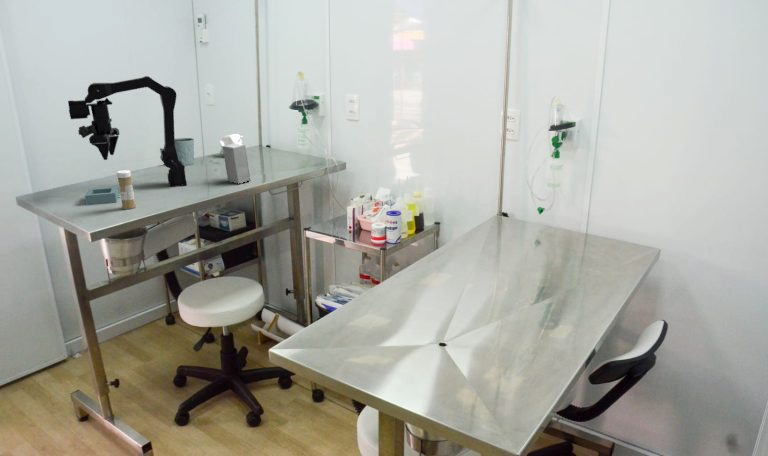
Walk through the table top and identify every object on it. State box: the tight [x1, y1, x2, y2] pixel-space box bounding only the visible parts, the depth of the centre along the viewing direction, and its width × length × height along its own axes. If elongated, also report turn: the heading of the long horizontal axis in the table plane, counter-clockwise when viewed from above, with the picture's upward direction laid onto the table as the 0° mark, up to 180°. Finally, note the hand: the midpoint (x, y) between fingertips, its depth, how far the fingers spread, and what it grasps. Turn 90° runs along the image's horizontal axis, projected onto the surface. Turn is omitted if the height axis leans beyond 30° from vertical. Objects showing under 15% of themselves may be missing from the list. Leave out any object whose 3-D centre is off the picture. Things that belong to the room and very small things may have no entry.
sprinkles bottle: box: [116, 169, 136, 210], centre depth 197 cm, size 5×5×13 cm
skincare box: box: [222, 144, 252, 185], centre depth 232 cm, size 8×7×16 cm
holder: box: [84, 186, 120, 206], centre depth 208 cm, size 10×10×4 cm
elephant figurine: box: [219, 133, 244, 156], centre depth 280 cm, size 12×18×12 cm
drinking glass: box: [175, 137, 195, 167], centre depth 265 cm, size 10×10×12 cm
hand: (108, 157), depth 216 cm, fingers open, 9 cm apart
